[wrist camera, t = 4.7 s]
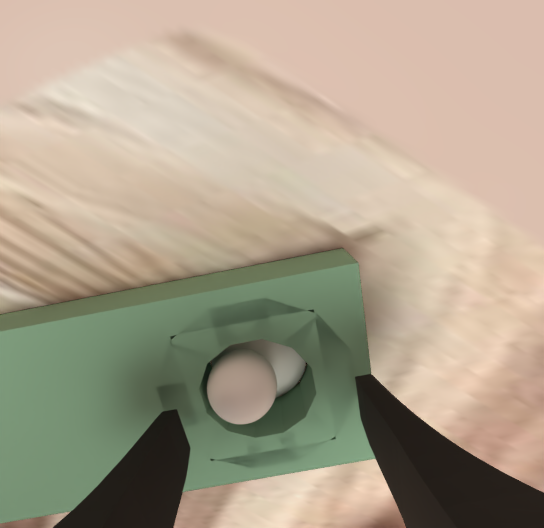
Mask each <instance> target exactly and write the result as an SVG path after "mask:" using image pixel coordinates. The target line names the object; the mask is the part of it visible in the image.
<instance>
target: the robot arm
mask: <svg viewBox="0 0 544 528" xmlns="http://www.w3.org/2000/svg"><path fill="white" fill-rule="evenodd" d="M355 381H356V388H357V396H358V403H359V410H360V418H361V421H362V424H363V427H364V430H365V433H366V436H367V439H368V442H369V445H370V447H371V449H372V451H373V454H374V456H375V458H376V460H377V462H378V465H379V467H380V469H381V471H382V473H383V476H384V478H385V480H386V482H387V484H388V486H389V489H390V491H391V493H392V495H393V497H394V499H395V502H396V504H397V506H398V508H399V511H400V513H401V515H402V518H403V520H404V523H405V525H406V528H544V493H543V492H541V491H539V490H537V489H535V488H533V487H531V486H529V485H527V484H525V483H523V482H521V481H519V480H517V479H515V478H513V477H511V476H509V475H507V474H505V473H503V472H501V471H500V470H498V469H496V468H494V467H493V466H491V465H489V464H487V463H486V462H484V461H482V460H480V459H479V458H477V457H475V456H473V455H472V454H470V453H468V452H467V451H465V450H464V449H462V448H461V447H459V446H457V445H456V444H455V443H453V442H452V441H450V440H449V439H447V438H446V437H444V436H443V435H441V434H440V433H439V432H437V431H436V430H435V429H433V428H432V427H431V426H429V425H428V424H427V423H425V422H424V421H423V420H422V419H420V418H419V417H418V416H417V415H415V414H414V413H413V412H412V411H411V410H409V409H408V408H407V407H406V406H405V405H404V404H402V403H401V402H400V401H399V400H398V399H397V398H396V397H394V396H393V395H392V394H391V393H390V392H389V391H388V390H387V389H386V388H385V387H384V386H383V385H382V384H381V383H380V382H379V381H378V380H377V379H376V378H375V377H374V376H373V375H371V374H367V375H361V376H356V377H355ZM190 449H191V448H190V445H189V442H188V439H187V437H186V434H185V431H184V428H183V425H182V422H181V419H180V416H179V414H178V411H177V409H174V410H168V411H163V412H161V413H160V415H159V416H158V417H157V418H156V419H155V420H154V421H153V423H152V424H151V425H150V426H149V427H148V429H147V430H146V431H145V432H144V434H143V435H142V436H141V437H140V438H139V439H138V441H137V442H136V443H135V444H134V445H133V447H132V448H131V449H130V450H129V451H128V452H127V454H126V455H125V456H124V457H123V458H122V459H121V460H120V462H119V463H118V464H117V465H116V466H115V467H114V468H113V469H112V470H111V471H110V473H109V474H108V475H107V476H106V477H105V478H104V479H103V480H102V481H101V482H100V483H99V485H98V486H97V487H96V488H95V489H94V490H93V491H92V492H91V493H90V494H89V495H88V496H87V497H86V498H85V499H84V500H83V501H82V502H81V503H79V504H78V505H77V506H76V507H75V508H74V509H73V510H72V511H71V512H70V513H69V514H68V515H67V516H66V517H65V518H63V519H62V520H61V521H60V522H59V523H58V524H57V525H55V526H54V527H53V528H173V526H174V522H175V518H176V515H177V511H178V507H179V504H180V500H181V496H182V492H183V488H184V485H185V481H186V476H187V470H188V464H189V457H190Z"/></svg>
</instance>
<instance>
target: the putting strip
mask: <svg viewBox="0 0 544 528" xmlns="http://www.w3.org/2000/svg"><path fill="white" fill-rule="evenodd" d="M238 349H249V350H253V351H256V352H258V353H260V354H261V355H263V356H264V357H265V358H266V359H267V360H268V361H269V362H270V364H271V365H272V367H273V369H274V371H275V374H276V378H277V393H276V397H275V400H274V402H273V404H272V406H271V408H270V409H269V410H268V412H267V413H266V414H265V415H264V416H262V417H261V418H260V419H258V420H256V421H254V422H252V423H248V424H233V423H230V422H227V421H225V420H224V419H222V418H221V417H219V416H218V415H217V414H216V413H215V411H214V410H213V408H212V406H211V405H210V402H209V399H208V395H207V381H208V377H209V374H210V371H211V369H212V367H213V366H214V364H215V363H216V362H217V361H218V360H219V359H220V358H221V357H222V356H224V355H225V354H227V353H229V352H231V351H234V350H238ZM211 360H212V367H211V364H210V361H211ZM306 363H307V367H306V369H305V365H306ZM304 369H305V371H304ZM303 372H304V374H303ZM367 374H371V368H370V359H369V350H368V342H367V333H366V325H365V316H364V307H363V299H362V290H361V282H360V273H359V264H358V262H357V261H356V260H355V259H354V258H353V257H352V256H351V255H350V254H349V253H347V252H346V251H345V250H344V249H343V248H341V249H336V250H331V251H325V252H320V253H315V254H310V255H305V256H300V257H294V258H289V259H284V260H279V261H274V262H269V263H263V264H258V265H253V266H248V267H243V268H238V269H233V270H227V271H222V272H217V273H212V274H207V275H202V276H196V277H191V278H186V279H181V280H176V281H171V282H166V283H160V284H155V285H150V286H145V287H140V288H135V289H129V290H124V291H119V292H114V293H109V294H104V295H99V296H93V297H88V298H83V299H78V300H73V301H68V302H62V303H57V304H52V305H47V306H42V307H37V308H32V309H26V310H21V311H16V312H11V313H6V314H1V315H0V523H6V522H12V521H17V520H23V519H29V518H35V517H41V516H46V515H52V514H58V513H64V512H69V511H72V510H73V509H74V508H75V507H76V506H77V505H78V504H79V503H81V502H82V501H83V500H84V499H85V498H86V497H87V496H88V495H89V494H90V493H91V492H92V491H93V490H94V489H95V488H96V487H97V486H98V485H99V483H100V482H101V481H102V480H103V479H104V478H105V477H106V476H107V475H108V474H109V473H110V471H111V470H112V469H113V468H114V467H115V466H116V465H117V464H118V463H119V462H120V460H121V459H122V458H123V457H124V456H125V455H126V454H127V452H128V451H129V450H130V449H131V448H132V447H133V445H134V444H135V443H136V442H137V441H138V439H139V438H140V437H141V436H142V435H143V434H144V432H145V431H146V430H147V429H148V427H149V426H150V425H151V424H152V423H153V421H154V420H155V419H156V418H157V417H158V416H159V415H160V413H161V412H163V411H168V410H174V409H177V411H178V414H179V416H180V419H181V422H182V425H183V428H184V431H185V434H186V437H187V439H188V442H189V445H190V448H191V449H190V457H189V464H188V470H187V476H186V481H185V485H184V488H183V492H185V491H191V490H197V489H203V488H208V487H214V486H220V485H226V484H231V483H237V482H243V481H249V480H255V479H260V478H266V477H272V476H278V475H283V474H289V473H295V472H301V471H307V470H312V469H318V468H324V467H330V466H336V465H341V464H347V463H353V462H359V461H364V460H370V459H376V458H375V456H374V454H373V451H372V449H371V447H370V445H369V442H368V439H367V436H366V433H365V430H364V427H363V424H362V421H361V418H360V410H359V403H358V396H357V388H356V381H355V377H356V376H361V375H367ZM302 375H303V376H302ZM301 377H302V378H301ZM300 379H301V381H300V382H299V383H298V381H299V380H300ZM297 383H298V384H297ZM296 384H297V385H296ZM281 395H282V396H281ZM279 396H280V397H279Z"/></svg>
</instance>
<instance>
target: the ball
mask: <svg viewBox="0 0 544 528" xmlns="http://www.w3.org/2000/svg"><path fill="white" fill-rule="evenodd" d="M276 393H277V378H276V374H275V371H274V369H273V367H272V365H271V364H270V362H269V361H268V360H267V359H266V358H265V357H264V356H263V355H261V354H260V353H258V352H256V351H253V350H249V349H238V350H234V351H231V352H229V353H227V354H225V355H224V356H222V357H221V358H220V359H219V360H218V361H217V362H216V363H215V364H214V366H213V367H212V369H211V371H210V374H209V377H208V381H207V395H208V399H209V402H210V405H211V406H212V408H213V410H214V411H215V413H216V414H217V415H218V416H219V417H221V418H222V419H224V420H225V421H227V422H230V423H233V424H248V423H252V422H254V421H256V420H258V419H260V418H261V417H262V416H264V415H265V414H266V413H267V412H268V410H269V409H270V408H271V406H272V404H273V402H274V400H275V397H276Z"/></svg>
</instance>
